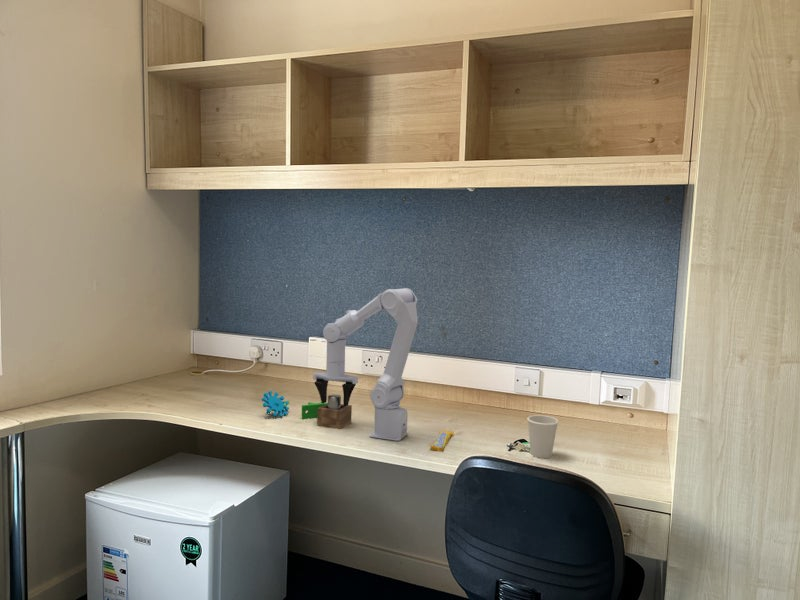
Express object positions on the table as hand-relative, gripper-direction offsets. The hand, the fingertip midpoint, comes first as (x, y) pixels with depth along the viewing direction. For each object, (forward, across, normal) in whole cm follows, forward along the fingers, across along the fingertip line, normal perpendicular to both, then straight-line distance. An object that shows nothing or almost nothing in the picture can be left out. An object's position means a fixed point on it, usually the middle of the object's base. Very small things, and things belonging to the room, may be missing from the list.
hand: (334, 404), depth 189 cm
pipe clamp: (+7, +9, -6) cm, 13 cm away
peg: (+5, 0, 0) cm, 5 cm away
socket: (+6, 0, 0) cm, 6 cm away
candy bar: (+7, -36, +3) cm, 37 cm away
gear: (+7, +22, -1) cm, 23 cm away
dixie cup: (+7, -64, +2) cm, 64 cm away
